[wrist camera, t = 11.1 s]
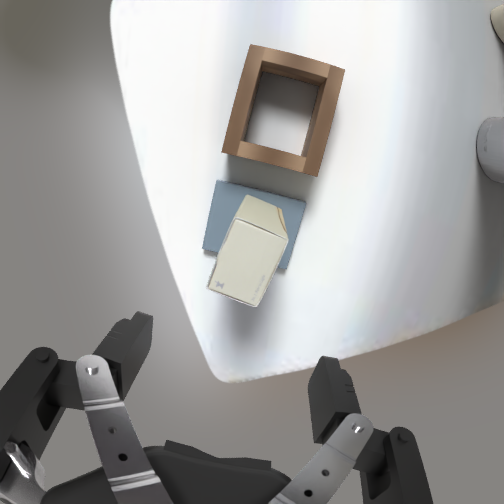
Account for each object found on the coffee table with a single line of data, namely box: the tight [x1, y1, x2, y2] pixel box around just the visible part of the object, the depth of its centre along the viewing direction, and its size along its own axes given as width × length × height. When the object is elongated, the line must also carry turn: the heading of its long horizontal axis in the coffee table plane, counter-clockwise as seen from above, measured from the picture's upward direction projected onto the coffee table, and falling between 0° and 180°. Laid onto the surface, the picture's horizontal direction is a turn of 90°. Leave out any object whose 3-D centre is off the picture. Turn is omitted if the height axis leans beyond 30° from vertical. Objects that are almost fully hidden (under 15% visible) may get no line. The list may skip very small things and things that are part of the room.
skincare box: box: [206, 195, 289, 307], centre depth 28 cm, size 6×4×12 cm
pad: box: [202, 180, 306, 269], centre depth 34 cm, size 10×8×1 cm
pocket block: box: [222, 44, 345, 177], centre depth 28 cm, size 9×11×4 cm
